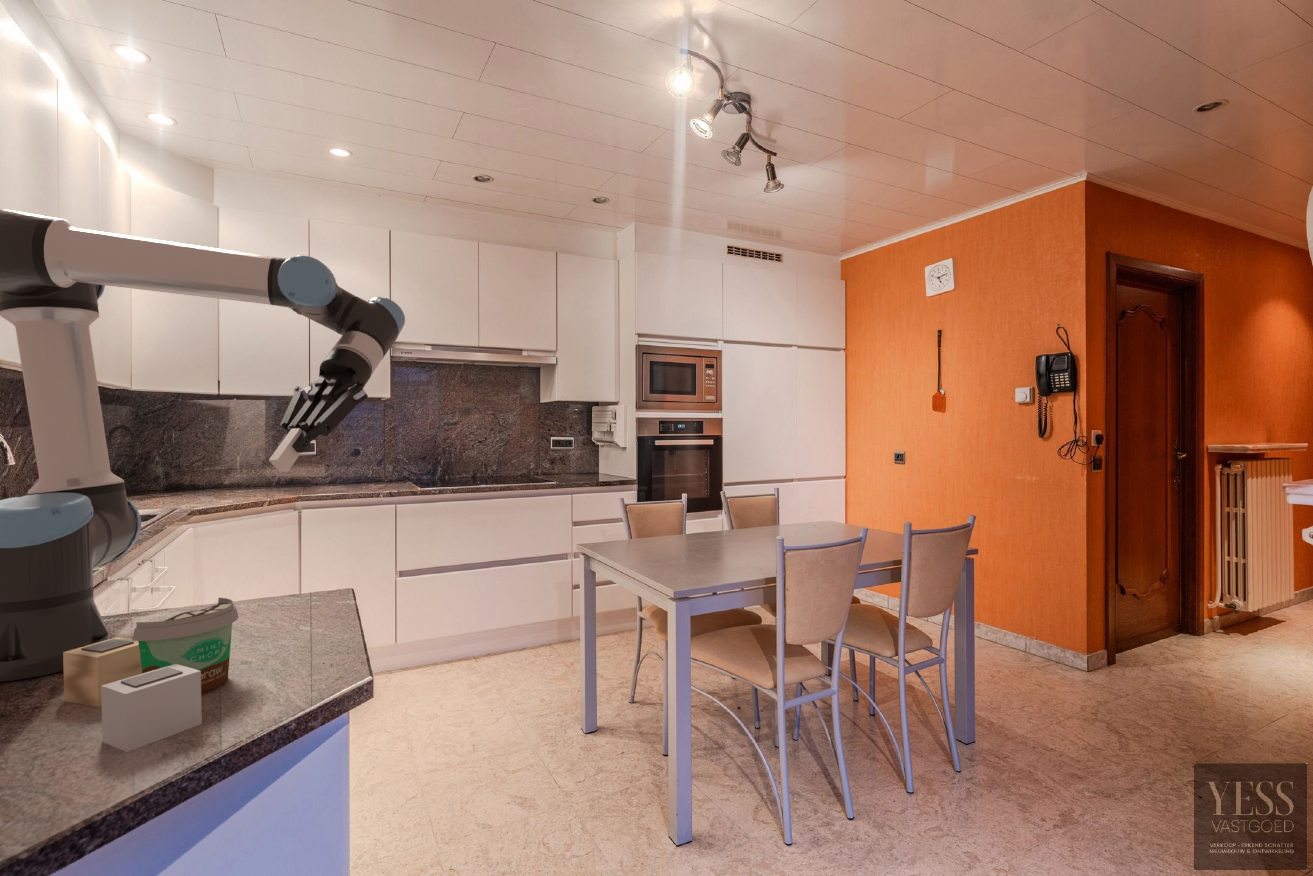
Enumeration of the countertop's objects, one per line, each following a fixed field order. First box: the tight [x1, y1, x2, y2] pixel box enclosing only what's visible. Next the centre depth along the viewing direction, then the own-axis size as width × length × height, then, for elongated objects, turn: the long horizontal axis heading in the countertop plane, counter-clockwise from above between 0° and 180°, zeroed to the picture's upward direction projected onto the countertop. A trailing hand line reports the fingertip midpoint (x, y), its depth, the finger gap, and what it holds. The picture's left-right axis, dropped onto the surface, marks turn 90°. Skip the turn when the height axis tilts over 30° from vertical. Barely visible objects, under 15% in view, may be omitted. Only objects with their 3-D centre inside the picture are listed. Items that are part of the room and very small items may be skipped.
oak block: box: [63, 636, 142, 708], centre depth 80 cm, size 6×6×6 cm
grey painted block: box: [101, 664, 203, 753], centre depth 69 cm, size 5×7×6 cm
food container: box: [132, 597, 240, 696], centre depth 81 cm, size 12×6×10 cm, turn 168°
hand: (278, 465), depth 95 cm, fingers closed
